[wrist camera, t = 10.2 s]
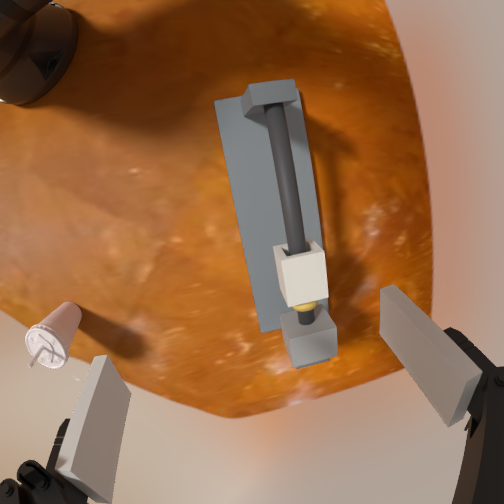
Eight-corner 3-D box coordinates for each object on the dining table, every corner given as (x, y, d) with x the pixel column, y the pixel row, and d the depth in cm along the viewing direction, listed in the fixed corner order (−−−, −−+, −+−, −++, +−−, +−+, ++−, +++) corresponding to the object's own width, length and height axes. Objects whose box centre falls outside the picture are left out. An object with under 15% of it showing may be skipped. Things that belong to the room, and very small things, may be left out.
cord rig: (213, 102, 33) (212, 82, 22) (296, 89, 33) (329, 68, 23) (260, 330, 44) (274, 384, 33) (327, 313, 44) (357, 362, 33)
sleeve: (272, 246, 32) (280, 260, 28) (311, 238, 33) (324, 251, 29) (280, 288, 34) (288, 307, 30) (316, 280, 34) (328, 297, 30)
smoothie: (83, 292, 39) (41, 350, 26) (94, 330, 41) (62, 393, 28) (48, 293, 38) (2, 346, 25) (60, 330, 40) (22, 388, 27)
